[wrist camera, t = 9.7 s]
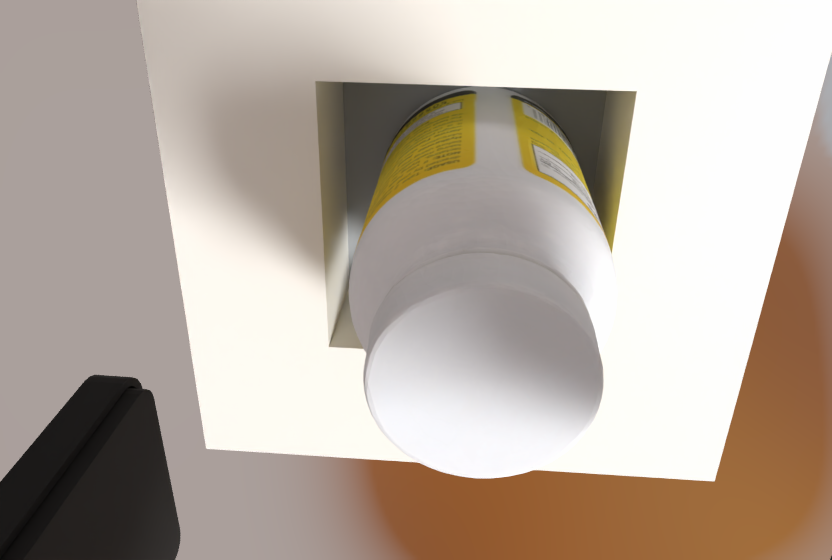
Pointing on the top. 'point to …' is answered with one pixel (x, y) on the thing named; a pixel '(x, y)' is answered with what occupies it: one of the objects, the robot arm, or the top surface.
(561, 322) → the supplement bottle
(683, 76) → the sleeve holder
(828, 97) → the top surface
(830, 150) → the top surface
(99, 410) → the robot arm
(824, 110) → the top surface
